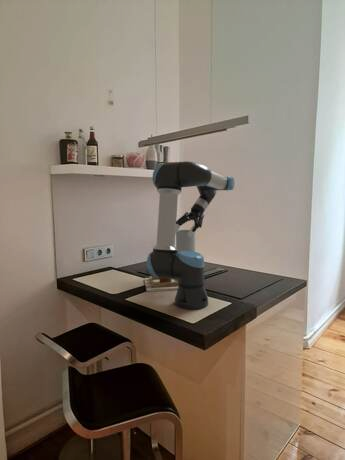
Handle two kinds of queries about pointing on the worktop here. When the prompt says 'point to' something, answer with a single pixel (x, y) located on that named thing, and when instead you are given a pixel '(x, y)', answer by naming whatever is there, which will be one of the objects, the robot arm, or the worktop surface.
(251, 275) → the worktop surface
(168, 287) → the docking board
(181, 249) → the cylinder vase
